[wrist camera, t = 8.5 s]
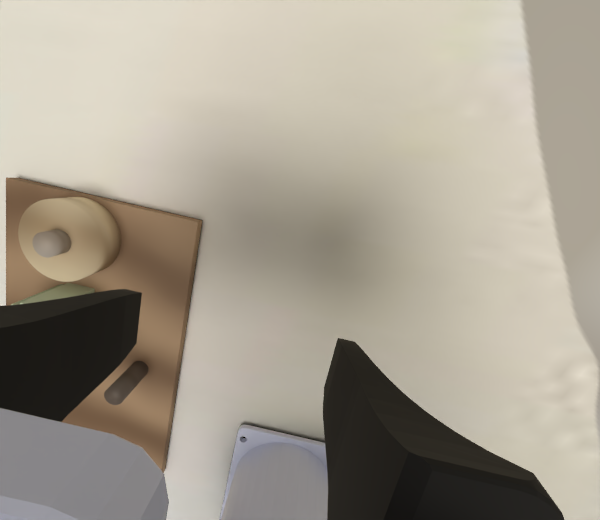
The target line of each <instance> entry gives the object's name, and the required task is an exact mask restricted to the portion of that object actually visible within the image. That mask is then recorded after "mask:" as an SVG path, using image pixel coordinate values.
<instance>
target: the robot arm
mask: <svg viewBox="0 0 600 520" xmlns="http://www.w3.org/2000/svg"><path fill="white" fill-rule="evenodd" d="M141 297H142V293H141V292H136V291H132V290H128V289H116V290H108V291H102V292H96V293H90V294H84V295H79V296H73V297H67V298H61V299H54V300H47V301H41V302H34V303H27V304H18V305H8V306H0V520H166V516H167V510H168V503H169V501H168V495H167V489H166V483H165V477H164V474H163V472H162V470H161V469H160V468H159V467H158V466H157V464H156V463H155V462H154V461H153V460H152V459H151V457H150V456H149V455H148V454H147V453H146V451H145V450H144V449H143V448H142V447H140V446H138V445H136V444H133V443H131V442H129V441H127V440H125V439H123V438H121V437H118V436H116V435H114V434H110V433H106V432H102V431H97V430H93V429H89V428H85V427H80V426H76V425H72V424H67V423H63V422H62V421H63V420H64V419H65V417H66V416H67V415H68V414H69V413H70V412H71V411H73V410H74V409H75V408H76V407H77V406H78V405H79V404H80V403H81V402H82V401H83V400H84V399H85V398H86V397H87V396H88V395H89V394H90V393H91V392H92V391H94V390H95V389H96V388H97V387H98V386H99V385H100V384H101V383H102V382H103V381H104V380H105V379H106V378H107V377H108V376H109V375H110V374H111V373H112V372H113V371H114V370H115V369H116V368H117V367H118V366H119V365H120V364H121V363H122V362H123V360H124V359H125V358H126V357H127V355H128V354H129V353H130V351H131V350H132V349H133V347H134V346H135V345H136V343H137V334H138V325H139V316H140V307H141ZM323 421H324V435H325V443H324V442H319V441H315V440H311V439H306V438H302V437H298V436H293V435H289V434H285V433H280V432H276V431H272V430H267V429H263V428H259V427H254V426H250V425H241V426H240V427H239V430H238V433H237V438H236V443H235V448H234V452H233V457H232V462H231V467H230V471H229V476H228V481H227V486H226V490H225V495H224V500H223V505H222V509H221V514H220V519H219V520H564V517H563V515H562V512H561V511H560V510H559V508H558V507H557V505H556V504H555V503H554V501H553V500H552V499H551V497H550V496H549V494H548V493H547V492H546V490H545V489H544V487H543V486H542V485H541V483H540V482H539V480H538V479H537V478H536V476H535V475H534V474H533V473H532V472H530V471H528V470H526V469H524V468H521V467H519V466H517V465H515V464H513V463H511V462H509V461H507V460H505V459H503V458H501V457H499V456H497V455H495V454H493V453H491V452H489V451H487V450H485V449H484V448H482V447H480V446H478V445H477V444H475V443H473V442H471V441H470V440H468V439H466V438H464V437H463V436H461V435H460V434H458V433H456V432H455V431H453V430H452V429H450V428H449V427H447V426H446V425H444V424H443V423H441V422H440V421H438V420H437V419H435V418H434V417H433V416H431V415H430V414H428V413H427V412H426V411H424V410H423V409H422V408H421V407H419V406H418V405H417V404H416V403H414V402H413V401H412V400H411V399H410V398H408V397H407V396H406V395H405V394H404V393H403V392H402V391H400V390H399V389H398V388H397V387H396V386H395V385H394V384H393V383H392V382H391V381H390V380H389V379H388V378H387V377H386V376H385V375H384V374H383V373H382V372H381V371H380V369H379V368H378V367H377V366H376V365H375V364H374V363H373V362H372V361H371V359H370V358H369V357H368V356H367V355H366V354H365V352H364V351H363V350H362V349H361V348H360V347H359V346H358V345H357V344H356V343H355V342H353V341H348V340H344V339H340V338H338V340H337V343H336V347H335V351H334V354H333V358H332V361H331V365H330V369H329V372H328V376H327V379H326V383H325V387H324V401H323ZM242 436H244V437H246V438H242Z"/></svg>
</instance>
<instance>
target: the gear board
mask: <svg viewBox="0 0 600 520" xmlns="http://www.w3.org/2000/svg"><path fill="white" fill-rule="evenodd" d="M201 226H202V220H198V219H194V218H190V217H185V216H181V215H177V214H172V213H168V212H164V211H159V210H155V209H151V208H146V207H142V206H138V205H133V204H129V203H125V202H120V201H116V200H112V199H107V198H103V197H99V196H94V195H90V194H86V193H81V192H77V191H73V190H68V189H64V188H60V187H55V186H51V185H47V184H42V183H38V182H34V181H29V180H25V179H21V178H6V306H8V305H11V304H13V303H16V302H18V301H21V300H23V299H26V298H28V297H30V296H33V295H35V294H38V293H40V292H43V291H45V290H48V289H50V288H53V287H55V286H57V285H60V284H62V285H64V284H66V283H72V284H77V285H81V286H85V287H90V288H94V289H95V293H96V292H102V291H108V290H116V289H128V290H132V291H136V292H141V293H142V297H141V307H140V316H139V325H138V334H137V343H136V345H135V346H134V347H133V349H132V350H131V351H130V353H129V354H128V355H127V357H126V358H125V359H124V360H123V362H122V363H121V364H120V365H119V366H118V367H117V368H116V369H115V370H114V371H113V372H112V373H111V374H110V375H109V376H108V377H107V378H106V379H105V380H104V381H103V382H102V383H101V384H100V385H99V386H98V387H97V388H96V389H95V390H94V391H92V392H91V393H90V394H89V395H88V396H87V397H86V398H85V399H84V400H83V401H82V402H81V403H80V404H79V405H78V406H77V407H76V408H75V409H74V410H73V411H71V412H70V413H69V414H68V415H67V416H66V417H65V419H64V420H63V421H62V422H63V423H67V424H72V425H76V426H80V427H85V428H89V429H93V430H97V431H102V432H106V433H110V434H114V435H116V436H118V437H121V438H123V439H125V440H127V441H129V442H131V443H133V444H136V445H138V446H140V447H142V448H143V449H144V450H145V451H146V453H147V454H148V455H149V456H150V457H151V459H152V460H153V461H154V462H155V463H156V464H157V466H158V467H159V468H160V469H161V470H162V472H163V473H164V471H165V467H166V460H167V454H168V447H169V440H170V434H171V427H172V420H173V414H174V407H175V400H176V393H177V387H178V380H179V373H180V367H181V360H182V353H183V347H184V340H185V333H186V326H187V320H188V313H189V306H190V300H191V293H192V286H193V280H194V273H195V266H196V259H197V253H198V246H199V239H200V233H201Z"/></svg>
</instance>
